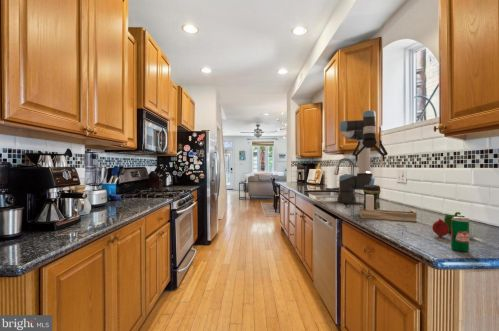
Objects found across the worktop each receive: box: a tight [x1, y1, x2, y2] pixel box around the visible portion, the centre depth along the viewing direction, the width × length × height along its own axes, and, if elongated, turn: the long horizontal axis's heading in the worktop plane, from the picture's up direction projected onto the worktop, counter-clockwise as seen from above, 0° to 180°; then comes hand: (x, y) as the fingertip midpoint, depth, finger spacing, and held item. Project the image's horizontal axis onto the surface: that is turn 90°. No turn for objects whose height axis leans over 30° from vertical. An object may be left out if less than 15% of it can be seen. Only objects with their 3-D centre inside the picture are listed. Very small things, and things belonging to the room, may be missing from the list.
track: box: [359, 206, 418, 222], centre depth 146 cm, size 10×28×5 cm, turn 71°
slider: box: [366, 195, 374, 211], centre depth 149 cm, size 4×4×10 cm
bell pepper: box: [443, 211, 465, 234], centre depth 114 cm, size 8×8×10 cm
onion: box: [432, 218, 450, 238], centre depth 108 cm, size 6×6×8 cm
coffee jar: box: [362, 184, 381, 210], centre depth 159 cm, size 10×8×19 cm
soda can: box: [450, 215, 470, 253], centre depth 91 cm, size 5×5×12 cm
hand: (369, 166), depth 158 cm, fingers open, 13 cm apart
